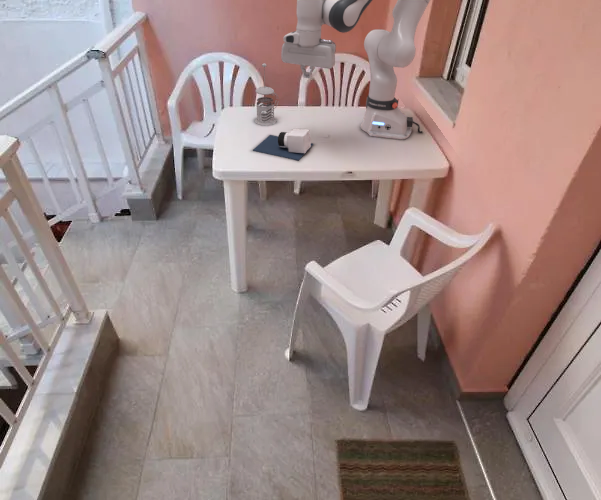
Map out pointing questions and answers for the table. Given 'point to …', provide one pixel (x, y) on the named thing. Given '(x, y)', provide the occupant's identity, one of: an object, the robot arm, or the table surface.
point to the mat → (277, 149)
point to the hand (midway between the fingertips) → (307, 77)
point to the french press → (262, 116)
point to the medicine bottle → (295, 140)
